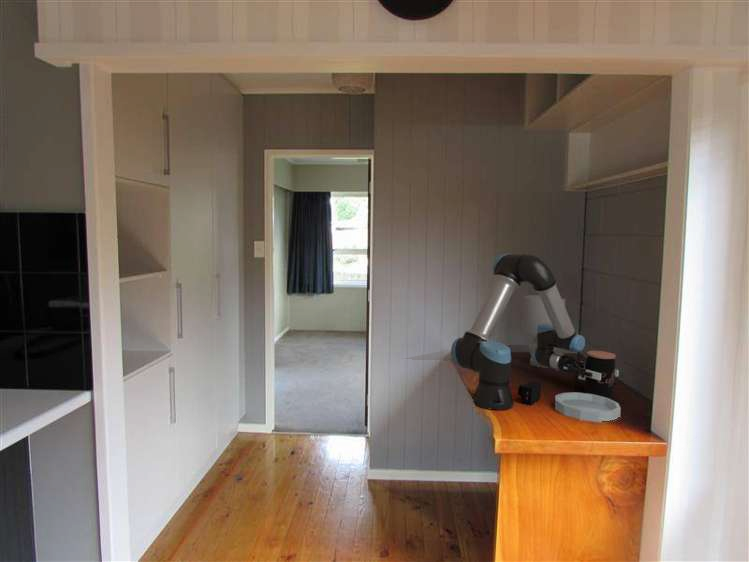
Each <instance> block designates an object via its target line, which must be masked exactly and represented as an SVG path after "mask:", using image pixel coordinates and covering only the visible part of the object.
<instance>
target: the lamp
mask: <svg viewBox="0 0 749 562" xmlns="http://www.w3.org/2000/svg"><path fill="white" fill-rule="evenodd" d="M561 299H562V301H563V304H564V306H565V307H566V298H564V297H561ZM539 324H552V323H551V320H550V318H549V316H548V314H547V311H546V309H545V307H544V305H543V302H542V300H541V298H540V296H539V294H538V295H536V294H535V295H524V296H523V310H522V332H523V333H525V334H528V335H533V336H534V337H533V338H532V339H531V340H530V342H529V344H528V351H529V354H530V355H531V354H532V351H533V350H534V349H535V348H537V327H538V325H539ZM554 352H556V347H554ZM530 364H531V365H530ZM529 365H530V366H532V365H533V366H532V367H534V366H537V367H536V368H539V367H542V368H541V369H549V368H550V367H546V366H542V365H539V364H537V363H534V362H533V361H532V358H531V357H530V359H529ZM550 369H551V368H550Z"/></svg>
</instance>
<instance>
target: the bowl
mask: <svg viewBox="0 0 749 562" xmlns="http://www.w3.org/2000/svg"><path fill="white" fill-rule="evenodd" d="M554 410H555V411H557V412H559V413H560V414H562V415H563V416H566V417H568V418H572V419H577V420H579V421H587V422H591V423H592V422H593V423H603V422H602V421H610V420H611V421H612V420H615V419H617V418H618V417H620V418H621V410H622V408H621V406H620V404H619V403H618V402H617V401H615V400H613V399H612V398H611V399H609V398H606V397H602V396H598V395H594V394H587V393H585V392H577V391H576V392H575V391H573V392H572V391H571V392H562V393H558V394H556V395H555V396H554ZM617 420H618V419H617ZM615 421H616V420H615Z"/></svg>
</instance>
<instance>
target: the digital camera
mask: <svg viewBox="0 0 749 562" xmlns="http://www.w3.org/2000/svg"><path fill="white" fill-rule="evenodd" d="M541 392H542V383H541V382H537V381H535V380H534V381H533V380H530V381H528V382H527V383H525V384H520V385H519V386H518V389H517V394H518V396H519V397H520V402H519V403H522V404H521V405H524V404H526V405H525V406H528V405H530V406H529V407H532V406H534V405H535V404H536V403H537V402H539V401H540V400H541ZM539 399H540V400H539ZM538 400H539V401H538ZM535 402H536V403H535ZM534 403H535V404H534ZM531 405H532V406H531Z"/></svg>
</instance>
